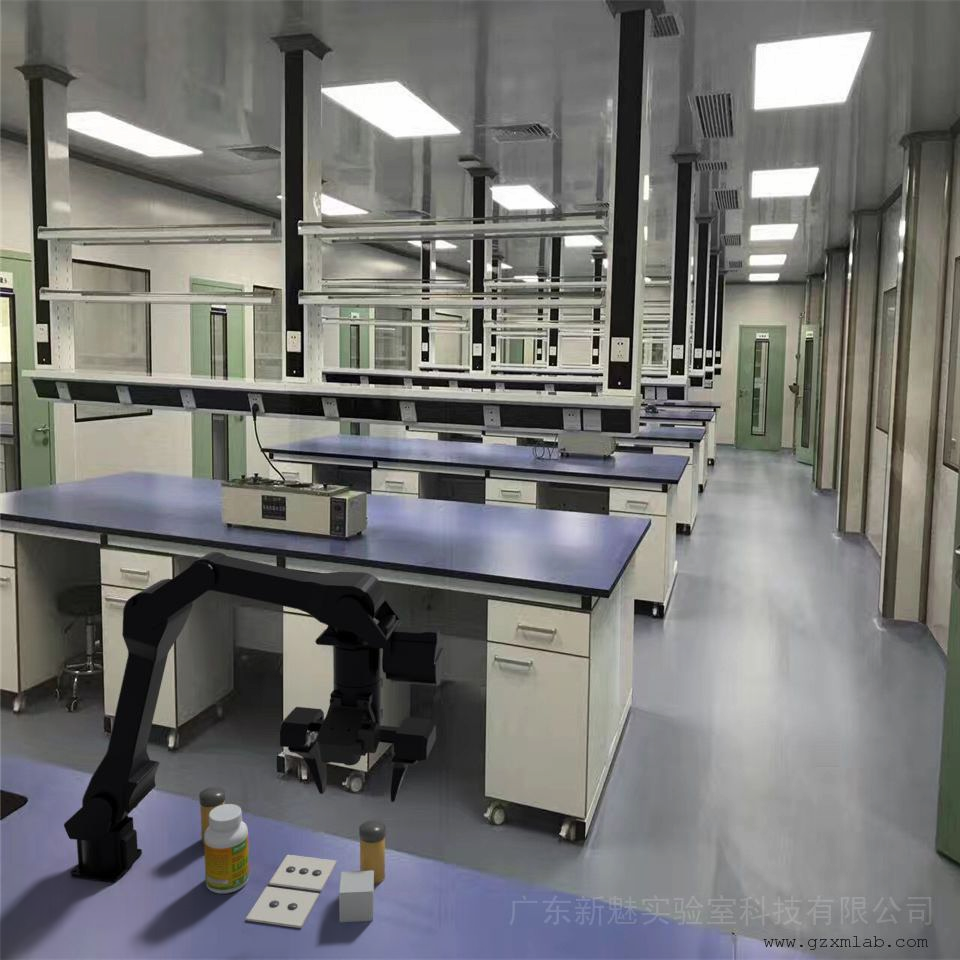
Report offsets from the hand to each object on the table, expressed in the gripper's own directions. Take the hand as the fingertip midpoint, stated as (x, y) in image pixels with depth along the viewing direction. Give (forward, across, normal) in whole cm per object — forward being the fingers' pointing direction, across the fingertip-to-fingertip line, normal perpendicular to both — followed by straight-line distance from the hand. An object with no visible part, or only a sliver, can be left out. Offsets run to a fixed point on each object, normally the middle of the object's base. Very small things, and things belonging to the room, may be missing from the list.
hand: (357, 796), depth 104 cm
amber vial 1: (+13, -23, +6) cm, 27 cm away
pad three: (+13, -8, +2) cm, 15 cm away
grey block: (+13, +1, -4) cm, 14 cm away
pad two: (+13, -8, -5) cm, 16 cm away
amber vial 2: (+13, +1, +3) cm, 13 cm away
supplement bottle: (+13, -17, -2) cm, 22 cm away
